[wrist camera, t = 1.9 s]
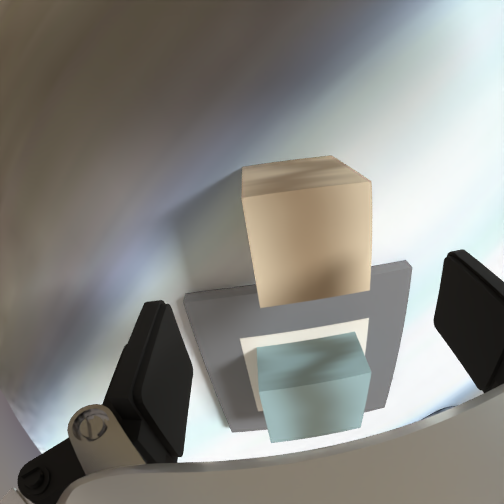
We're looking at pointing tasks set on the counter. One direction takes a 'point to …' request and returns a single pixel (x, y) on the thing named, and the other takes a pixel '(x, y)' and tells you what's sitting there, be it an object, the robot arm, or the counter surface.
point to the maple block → (307, 229)
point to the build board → (295, 336)
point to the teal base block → (313, 386)
